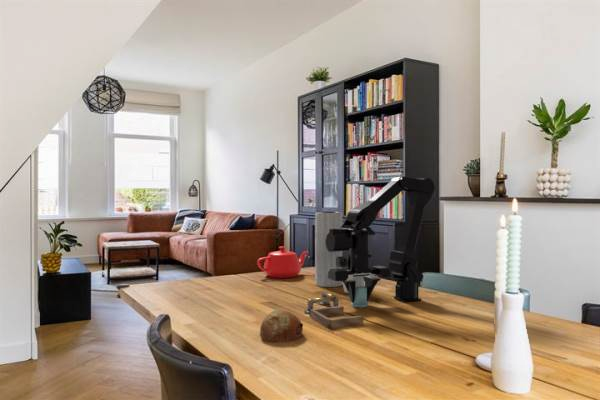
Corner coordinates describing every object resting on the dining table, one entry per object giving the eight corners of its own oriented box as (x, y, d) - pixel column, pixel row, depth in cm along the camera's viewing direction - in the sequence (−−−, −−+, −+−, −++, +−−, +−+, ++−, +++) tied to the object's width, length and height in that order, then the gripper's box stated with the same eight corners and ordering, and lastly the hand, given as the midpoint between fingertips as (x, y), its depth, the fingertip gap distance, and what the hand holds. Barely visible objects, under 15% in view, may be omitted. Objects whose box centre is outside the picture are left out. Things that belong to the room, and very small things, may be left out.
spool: (362, 302, 141) (362, 285, 141) (370, 306, 136) (370, 288, 136) (348, 304, 139) (348, 286, 139) (356, 308, 134) (356, 289, 134)
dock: (341, 313, 129) (341, 306, 129) (363, 324, 118) (363, 316, 118) (309, 316, 125) (309, 309, 125) (328, 328, 114) (328, 320, 114)
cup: (364, 297, 148) (364, 273, 148) (339, 296, 149) (339, 272, 149) (365, 291, 158) (366, 268, 158) (343, 290, 160) (343, 267, 160)
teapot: (267, 282, 175) (267, 250, 175) (248, 276, 188) (248, 246, 187) (319, 275, 189) (319, 246, 189) (298, 270, 202) (298, 243, 202)
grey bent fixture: (326, 301, 142) (326, 289, 142) (344, 310, 132) (344, 297, 131) (292, 305, 138) (292, 292, 138) (307, 314, 127) (307, 301, 127)
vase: (324, 281, 176) (324, 211, 176) (347, 284, 170) (347, 211, 170) (310, 285, 168) (310, 212, 168) (333, 288, 162) (333, 212, 162)
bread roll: (267, 344, 113) (253, 316, 113) (304, 326, 114) (290, 297, 113) (267, 359, 103) (252, 327, 103) (308, 338, 104) (293, 307, 103)
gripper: (372, 246, 148) (372, 293, 149) (320, 248, 142) (320, 298, 142) (391, 249, 138) (391, 301, 138) (336, 252, 131) (336, 306, 131)
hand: (359, 301), depth 138 cm, fingers closed on spool, 4 cm apart
